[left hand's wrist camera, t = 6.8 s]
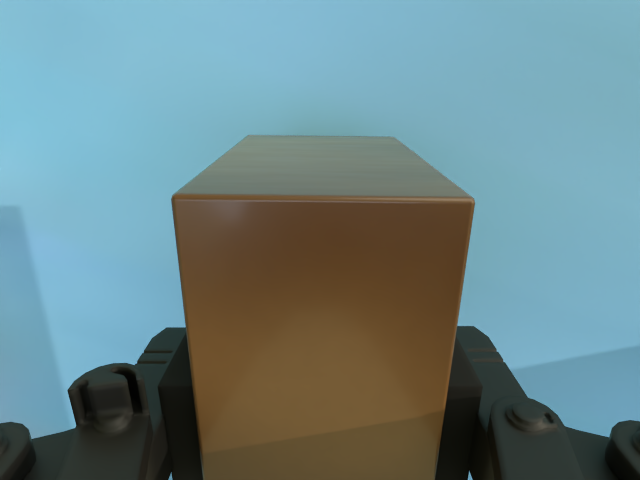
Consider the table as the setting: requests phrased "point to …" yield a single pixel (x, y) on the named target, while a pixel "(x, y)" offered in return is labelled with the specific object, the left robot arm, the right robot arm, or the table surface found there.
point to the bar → (321, 307)
